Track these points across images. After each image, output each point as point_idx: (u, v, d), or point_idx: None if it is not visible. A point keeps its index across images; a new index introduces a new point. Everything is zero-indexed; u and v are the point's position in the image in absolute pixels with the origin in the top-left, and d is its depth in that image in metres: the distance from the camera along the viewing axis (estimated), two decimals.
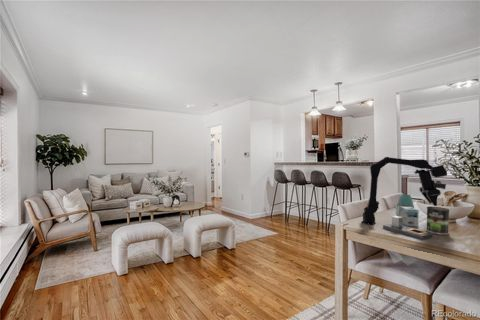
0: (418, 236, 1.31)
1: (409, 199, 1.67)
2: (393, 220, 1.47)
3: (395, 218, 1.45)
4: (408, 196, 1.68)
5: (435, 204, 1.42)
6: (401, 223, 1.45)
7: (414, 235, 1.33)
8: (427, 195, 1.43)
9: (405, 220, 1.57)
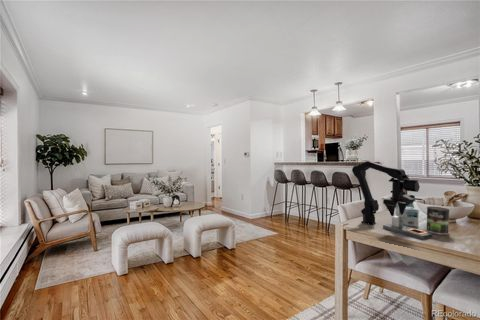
0: (418, 236, 1.31)
1: None
2: (393, 220, 1.47)
3: (395, 218, 1.45)
4: None
5: (392, 214, 1.44)
6: (401, 223, 1.45)
7: (414, 235, 1.33)
8: None
9: (405, 220, 1.57)
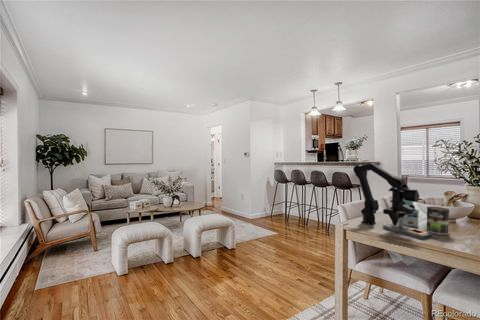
0: (418, 236, 1.31)
1: None
2: None
3: None
4: None
5: (394, 223, 1.45)
6: (401, 223, 1.45)
7: (414, 235, 1.33)
8: None
9: (405, 220, 1.57)
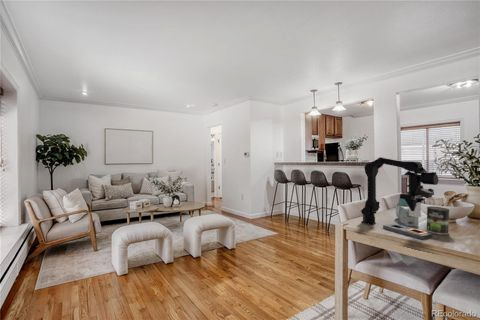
0: (418, 236, 1.31)
1: None
2: None
3: None
4: None
5: (412, 209, 1.36)
6: (419, 208, 1.36)
7: (414, 235, 1.33)
8: None
9: (405, 220, 1.57)
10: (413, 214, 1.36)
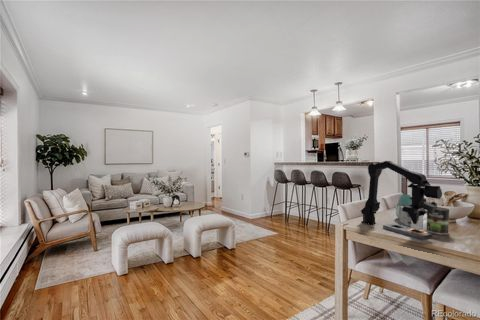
0: (418, 236, 1.31)
1: (409, 199, 1.67)
2: None
3: None
4: (408, 196, 1.68)
5: (414, 222, 1.35)
6: (421, 222, 1.35)
7: (414, 235, 1.33)
8: None
9: (405, 220, 1.57)
10: (415, 227, 1.35)
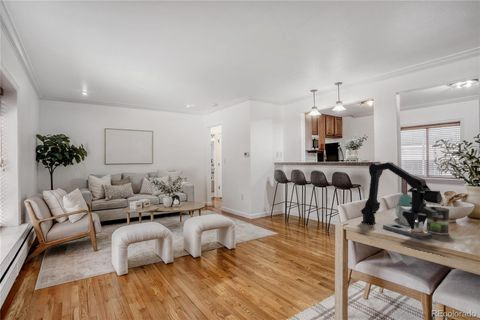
0: (418, 236, 1.31)
1: (409, 199, 1.67)
2: None
3: (415, 223, 1.36)
4: (408, 196, 1.68)
5: (412, 227, 1.34)
6: (421, 228, 1.35)
7: (414, 235, 1.33)
8: None
9: (405, 220, 1.57)
10: None
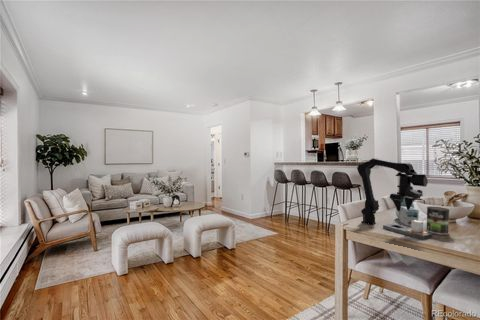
0: (418, 236, 1.31)
1: None
2: (413, 225, 1.37)
3: (415, 223, 1.36)
4: None
5: (398, 209, 1.42)
6: (421, 228, 1.35)
7: (414, 235, 1.33)
8: None
9: (405, 220, 1.57)
10: None
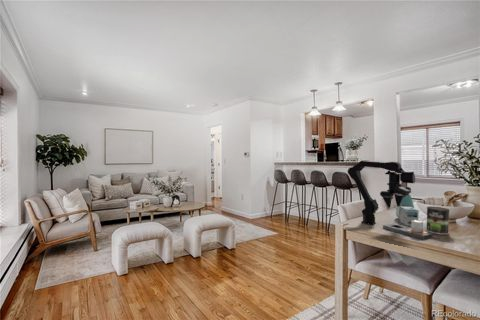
0: (418, 236, 1.31)
1: (409, 199, 1.67)
2: (413, 225, 1.37)
3: (415, 223, 1.36)
4: (408, 196, 1.68)
5: (388, 206, 1.48)
6: (421, 228, 1.35)
7: (414, 235, 1.33)
8: None
9: (405, 220, 1.57)
10: None
